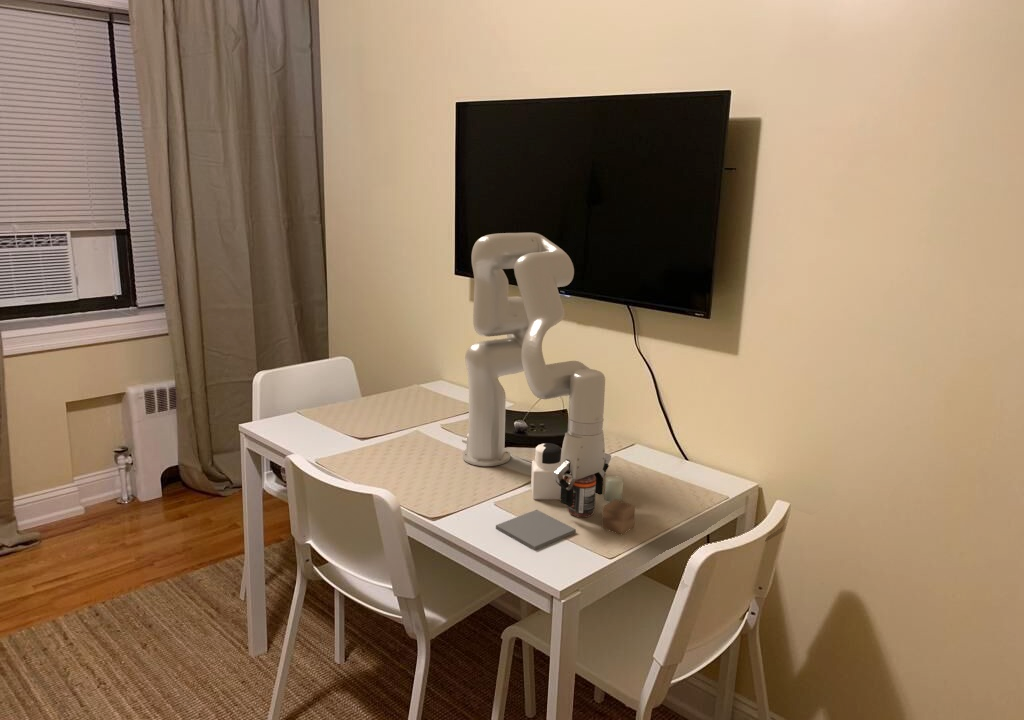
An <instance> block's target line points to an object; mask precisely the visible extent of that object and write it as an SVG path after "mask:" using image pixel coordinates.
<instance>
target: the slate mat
mask: <svg viewBox="0 0 1024 720" xmlns="http://www.w3.org/2000/svg"><path fill="white" fill-rule="evenodd" d="M495 529H496V530H498V531H499V532H501V533H503V534H504V535H506V536H508V537H509V538H512V539H514V540H515V541H517V542H519V543H520V544H523V545H524V546H526V547H527V548H529V549H531V550H533V551H536V550H538V549H540V548H543V547H546V546H547V545H550V544H552V543H555V542H556V541H559V540H562V539H564V538H566V537H569V536H571V535H574V534H576V531H577V530H576V528H574V527H572V526H570V525H568V524H566V523H564V522H563V521H561V520H558V519H557V518H554V517H552V516H550V515H549V514H546V513H545V512H542V511H541V510H539V509H535V510H532V511H529V512H527V513H524V514H522V515H519V516H516V517H512V518H511V519H508V520H506V521H503V522H501V523H498V524H495ZM573 533H574V534H573Z"/></svg>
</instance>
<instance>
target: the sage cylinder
mask: <svg viewBox="0 0 1024 720" xmlns="http://www.w3.org/2000/svg"><path fill="white" fill-rule="evenodd" d="M623 485H624V479H623V478H622V477H620V476H616V475H609V476H606V477H605V485H604V501H606V502H607V503H610V502H612V501H613V500H615V499H616V500H619V501H622V502H623V491H624V490H623V488H624V486H623Z"/></svg>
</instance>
